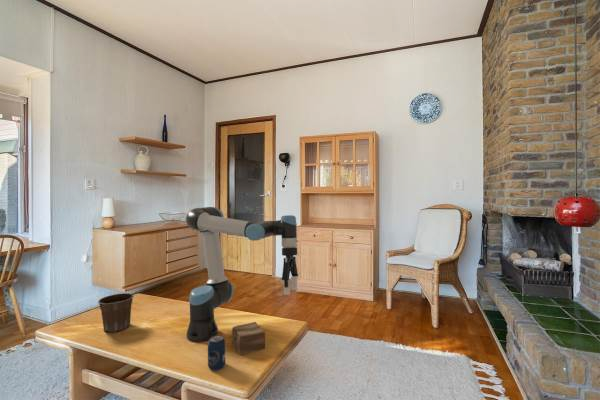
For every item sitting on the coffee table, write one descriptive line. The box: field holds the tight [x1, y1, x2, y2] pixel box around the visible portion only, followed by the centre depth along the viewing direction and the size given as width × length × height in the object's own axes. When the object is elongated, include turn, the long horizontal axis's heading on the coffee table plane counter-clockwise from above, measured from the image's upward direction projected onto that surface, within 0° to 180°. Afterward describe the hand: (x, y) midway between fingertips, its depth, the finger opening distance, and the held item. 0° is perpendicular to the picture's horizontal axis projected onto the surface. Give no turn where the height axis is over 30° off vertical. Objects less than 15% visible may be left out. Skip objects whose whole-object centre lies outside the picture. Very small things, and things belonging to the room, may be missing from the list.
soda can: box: [207, 334, 226, 372], centre depth 123 cm, size 7×7×12 cm
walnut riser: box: [231, 321, 266, 356], centre depth 140 cm, size 12×12×8 cm
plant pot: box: [97, 292, 134, 333], centre depth 160 cm, size 16×16×16 cm
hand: (290, 292), depth 142 cm, fingers open, 13 cm apart
